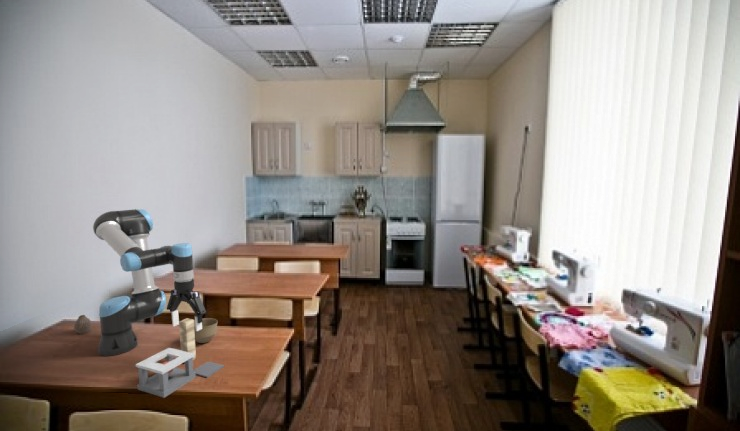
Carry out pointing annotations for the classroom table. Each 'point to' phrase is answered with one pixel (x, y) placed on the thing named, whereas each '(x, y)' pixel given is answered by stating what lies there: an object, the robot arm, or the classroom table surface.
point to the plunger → (169, 370)
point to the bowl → (206, 330)
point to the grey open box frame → (165, 372)
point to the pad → (207, 369)
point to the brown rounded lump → (82, 324)
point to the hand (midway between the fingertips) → (187, 327)
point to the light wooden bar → (187, 336)
